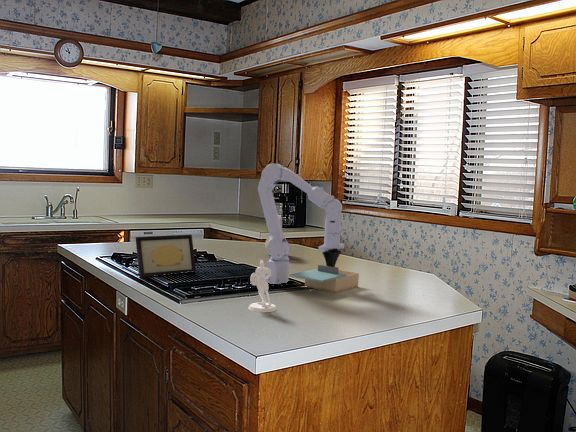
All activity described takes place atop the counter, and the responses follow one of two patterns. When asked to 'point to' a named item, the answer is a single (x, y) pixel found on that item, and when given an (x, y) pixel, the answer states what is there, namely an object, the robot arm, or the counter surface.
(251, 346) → the counter surface
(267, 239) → the headphones
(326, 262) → the robot arm
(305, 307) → the counter surface
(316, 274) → the lid
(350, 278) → the mailer box
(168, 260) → the picture frame
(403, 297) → the counter surface
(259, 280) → the figurine
